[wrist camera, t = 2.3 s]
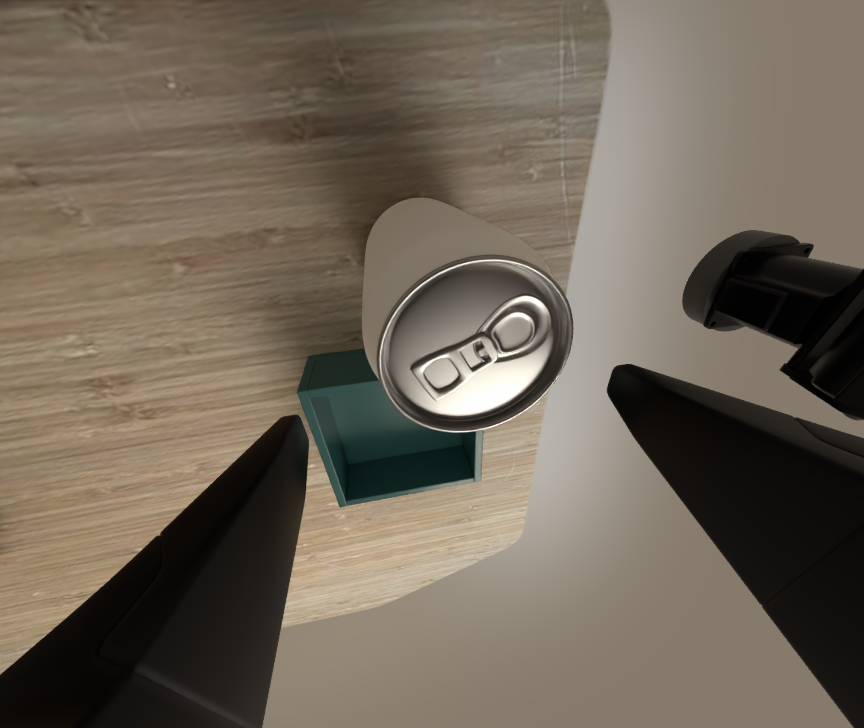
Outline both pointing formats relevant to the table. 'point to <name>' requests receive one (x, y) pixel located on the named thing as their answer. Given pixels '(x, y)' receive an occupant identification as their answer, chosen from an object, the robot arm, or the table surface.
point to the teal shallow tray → (378, 436)
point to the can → (459, 317)
